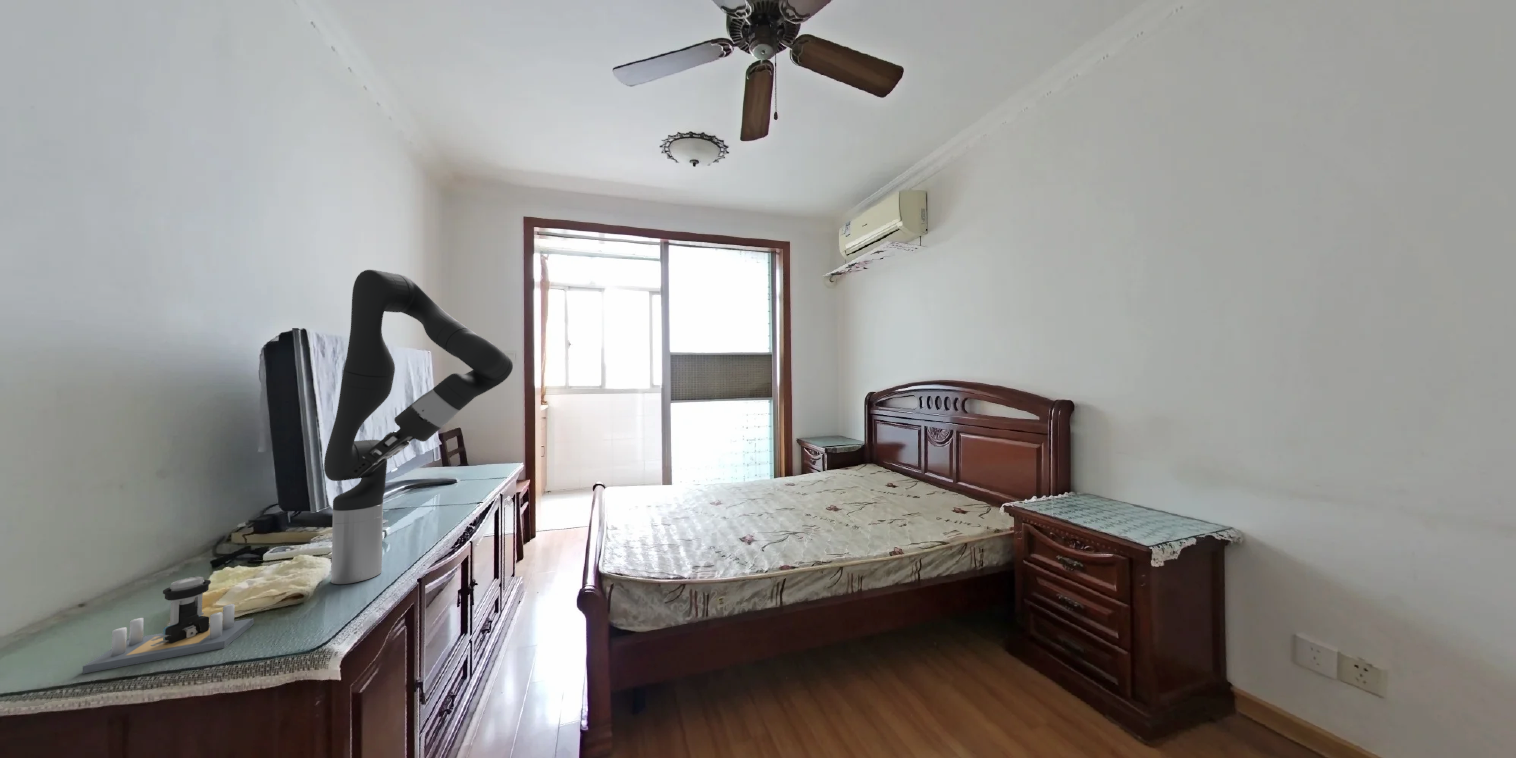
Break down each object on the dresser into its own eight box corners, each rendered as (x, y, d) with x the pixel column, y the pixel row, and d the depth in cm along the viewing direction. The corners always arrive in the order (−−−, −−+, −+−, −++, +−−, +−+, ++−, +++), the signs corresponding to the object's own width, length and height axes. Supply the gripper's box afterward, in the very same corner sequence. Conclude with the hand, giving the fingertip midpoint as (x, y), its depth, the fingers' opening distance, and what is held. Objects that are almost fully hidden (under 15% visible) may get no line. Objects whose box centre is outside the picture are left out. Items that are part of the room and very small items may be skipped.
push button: (161, 650, 76) (163, 591, 76) (141, 647, 77) (143, 588, 77) (217, 630, 82) (218, 575, 83) (196, 627, 83) (198, 573, 84)
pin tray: (128, 645, 80) (129, 615, 80) (253, 624, 87) (254, 597, 87) (82, 673, 72) (83, 640, 72) (224, 647, 79) (225, 617, 79)
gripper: (421, 402, 102) (355, 456, 97) (404, 403, 89) (327, 465, 84) (448, 424, 104) (385, 478, 99) (436, 428, 92) (363, 490, 86)
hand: (359, 472), depth 91 cm, fingers open, 8 cm apart
